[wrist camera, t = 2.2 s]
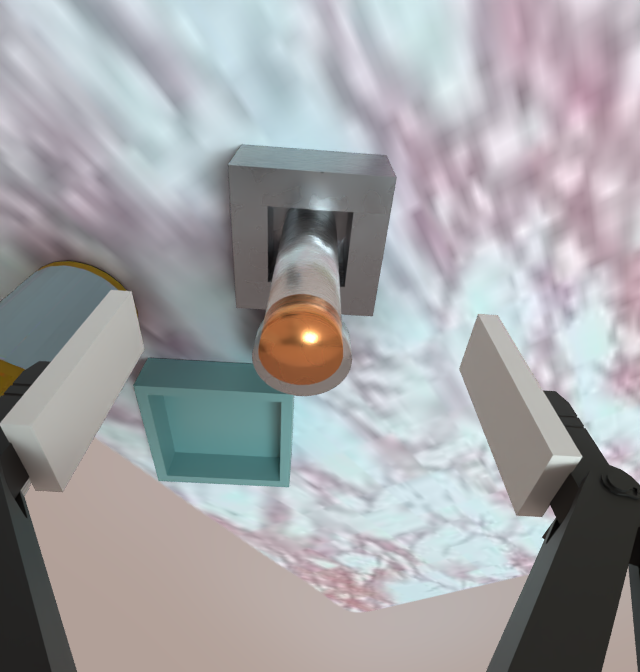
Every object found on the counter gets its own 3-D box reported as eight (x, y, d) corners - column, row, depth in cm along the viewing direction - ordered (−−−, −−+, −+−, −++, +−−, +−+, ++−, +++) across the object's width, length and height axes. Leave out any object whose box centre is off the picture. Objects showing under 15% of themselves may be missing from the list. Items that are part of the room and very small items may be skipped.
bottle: (161, 327, 30) (51, 534, 18) (81, 354, 31) (-70, 561, 19) (97, 241, 26) (-99, 430, 14) (10, 277, 28) (-235, 475, 16)
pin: (284, 198, 23) (257, 316, 14) (338, 202, 23) (347, 321, 14) (283, 248, 25) (258, 382, 16) (333, 252, 25) (338, 387, 16)
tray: (148, 357, 32) (133, 385, 29) (295, 366, 32) (293, 394, 29) (169, 451, 38) (158, 480, 36) (291, 458, 38) (289, 487, 36)
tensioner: (355, 354, 31) (360, 408, 27) (249, 348, 31) (237, 401, 27) (386, 155, 23) (400, 186, 19) (241, 144, 23) (221, 173, 18)
